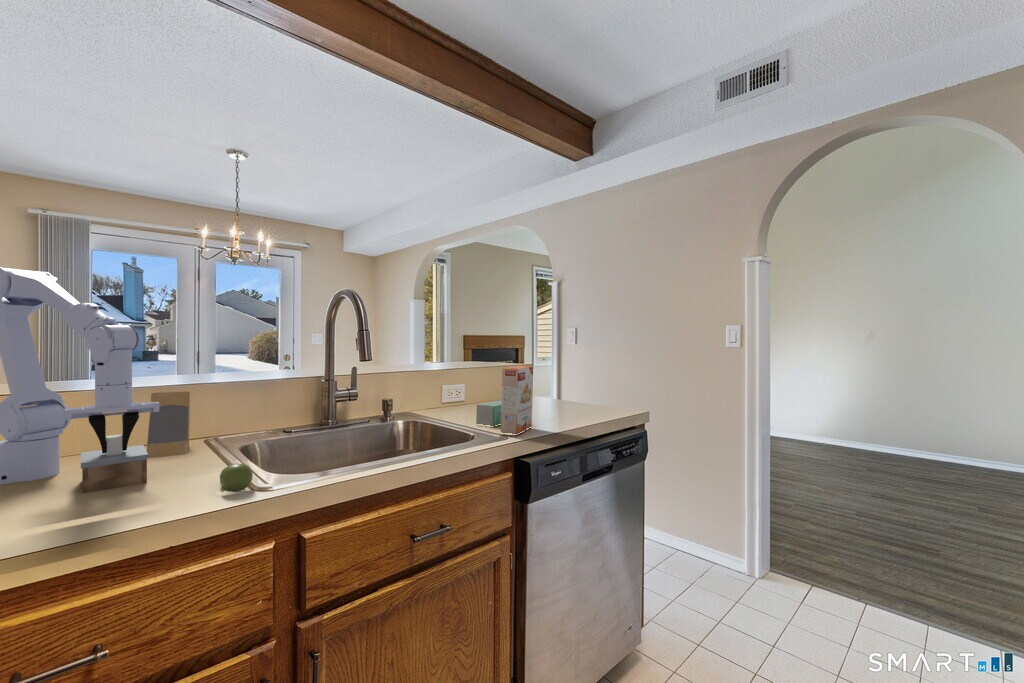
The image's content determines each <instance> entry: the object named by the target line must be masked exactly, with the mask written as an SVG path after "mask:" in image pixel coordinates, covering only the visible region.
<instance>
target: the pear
mask: <svg viewBox="0 0 1024 683" xmlns="http://www.w3.org/2000/svg"><path fill="white" fill-rule="evenodd" d="M253 474H254V473H253V470H252V468H251V467H250V466H249V465H248V464H247V463H232V464H230V465H228V466H226V467H224V468H223V469H222V470H221V471H220V474H219V482H220V484H221V486H222V487H223V488H224V489H225V490H227V491H228V492H235V493H236V492H241V491H243V490H245V489H247V488H248V487H249V486H250V484H252V481H253Z"/></svg>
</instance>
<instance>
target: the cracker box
mask: <svg viewBox="0 0 1024 683" xmlns="http://www.w3.org/2000/svg"><path fill="white" fill-rule="evenodd" d="M501 371H502V372H501V373H502V374H501V401H502V403H501V426H500V433H501V432H502V433H512V434H518V433H520V432H522V431H524V430H526V429H527V428H529V427H531V426H532V425H533V423H532V422H533V419H532V418H533V392H534V391H533V390H534V389H533V388H534V367H533V366H531V365H530V366H529V365H516V366H511V367H503V368H502V369H501Z"/></svg>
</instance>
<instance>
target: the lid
mask: <svg viewBox="0 0 1024 683" xmlns="http://www.w3.org/2000/svg"><path fill="white" fill-rule="evenodd" d="M122 434H123V433H122ZM122 434H112V435H106V444H107V453H102V449H99V450H92V451H83V452H80V469H81V470H82V468H89V467H96V466H103V465H110V464H118V463H125V462H132V461H139V460H146V459H147V460H149V458H148V453H147V448H146V447H145V446H144V444H140V445H133V446H132V445H131V446H127V450H126V451H122Z"/></svg>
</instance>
